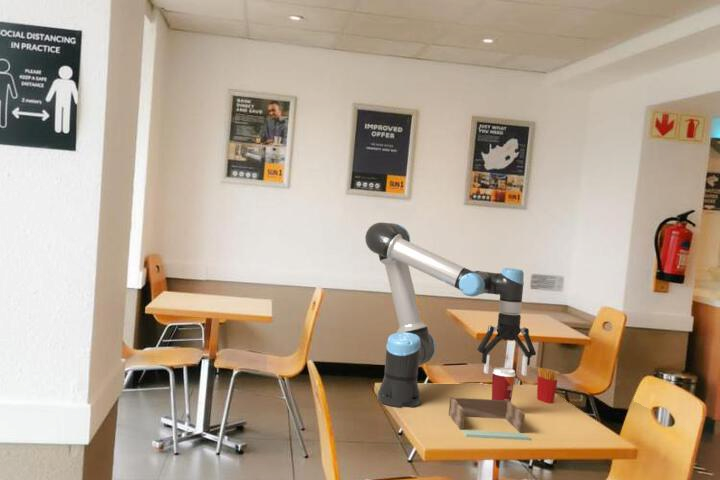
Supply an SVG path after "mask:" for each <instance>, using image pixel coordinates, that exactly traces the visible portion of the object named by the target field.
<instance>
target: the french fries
mask: <svg viewBox="0 0 720 480" xmlns="http://www.w3.org/2000/svg"><path fill="white" fill-rule="evenodd" d="M537 373H538V375H537V380H536V381H537V386H536V387H537V389H536V391H537V392H536V399H537V400H538V401H540V402H543V403H547V404H554V401H555V395H556V390H557V385H558V379H557V375H558V374H557V373H556V371H554V370H550V369H549V368H546V369H545V368H544V367H540V368H539V367H537Z"/></svg>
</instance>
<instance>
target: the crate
mask: <svg viewBox="0 0 720 480" xmlns="http://www.w3.org/2000/svg"><path fill="white" fill-rule="evenodd" d="M448 410H449V411H448V416H449V417H450V418H451V420H452V421H453V422H454V425H456V426H457V427H458V429H459V430H460V431H461V430H464V427H465V426H464V425H465V424H464V423H465V418H466V417H467V418H483V419H497V420H498V419H500V420H501V419H502V420H506V421H507V422H508V423H509V424H510V425H511V426H512V427H513V428H514V429H515V430H516V431H517V433H523V434H524V427H525V413H524V412H523V411H522V410H520V409H519V408H518V407H517V406H516V405H515V404H513V402H512V401H511V402H510V401H505V400H492V399H486V398H485V399H484V398H471V397H470V398H469V397H453V396H450V399H449V409H448Z"/></svg>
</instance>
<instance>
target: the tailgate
mask: <svg viewBox="0 0 720 480" xmlns="http://www.w3.org/2000/svg"><path fill="white" fill-rule="evenodd" d="M460 431H461V432H462V434H463V435H464V436H465V438H480V439H495V440H496V439H497V440H499V439H501V440H520V441H531V437H530V436H528V435H526V434H525V433H524V432H523V433H519V432H508V431H507V432H506V431H504V432H503V431H491V430H490V431H488V430H487V431H486V430H468V429H467V430H466V429H463V430H460Z"/></svg>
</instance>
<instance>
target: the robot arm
mask: <svg viewBox="0 0 720 480" xmlns="http://www.w3.org/2000/svg"><path fill="white" fill-rule="evenodd" d="M409 233H410V232H408V230H407V229H406V228H405V227H404V226H403V225H401V224H399V223H395V222H390V223H389V222H376V223H374V224H372V225H371V226H370V227H369V228H368V229H367V230H366V233H365V237H364V238H365V244H366V246H367V247H368V249H369V251H371V252H372V253H375V254H377V255H378V258H379V262H380V263H382V264H383V265H384V266H385V270H386V275H387V279H388V284H389V288H390V291H391V296H392V300H393V301H392V302H393V305H394V309H395V310H394V311H395V314H396V318H397V323H398V326H399V327H398V329H397V331H396V332H395V333H392V334H390V335H389V336H388V338H387V342H386V351H385V364H384V373H383V374H384V376H383V379H382V382H381V384H380V386H379V389H378V390H377V391H378V392H377V396H376V397H377V398H376V399H377V401H378V402H379V403H381V404H384V405H387V406H390V407H396V408H414V407H415V408H416V407H418V406H419V405H420V404H421V392H420V389H419V385H418V384H419V383H418V374H419V367H420V366H421V365H425V364H426V363H428V362H429V361H430V360H432V358H433V356H434V355H435V353H436V350H437V349H436V348H437V347H436V341H435V339H434V337H433V336H432V335H431V334H430V333H429V329H428V325H427V324H426V323H423V320H422V316H421V313H420V309H419V304H418V301H417V296H416V291H415V288H414V284H413V283H414V282H413V279H412V275H411V270H410V267H412V268H414V269H416V270H418V271H420V272H422V273H424V274H426V275H429V276H430V277H432V278H435V279H437V280H439V281H440V282H443V283H445V284H447V285H449V286H451V287H454V288H455V289H457V290H458V291H460V292H461V293H462V294H463V295H465V296H466V297H467V296H468V297H477V296H480V295H483V294H489V295H490V294H491V295H495V296H497V295H498V296H499V307H498V311H499V313H498V318H497V326H493V325H488V327H487V332H486V333H485V335H484V337H483V339H482V340H481V342H480V343H479V345H478V347H477V349H476V350H477V351H478V352H479V353H481V354H482V356H481V362H482V363H481V364H483V373H484V374H486V375H489V369H490V366H489V365H490V358H491V357H490V356H491V355H490V354H489V353H490V352H491V350H493V349H494V348H495V347H496V346H497V344H499V343H500V342H501V341H502V340H503V341H515V343H516V344H517V346H519V348H520V349H521V351H522V352H523V353H524V355H522V361H521V375H522V376H525V377H527V370H528V368H527V367H529V366H530V363H531V358H532V356H536V355H537V352H536V349H535V347H534V344H533V342H532V340H531V338H530V334H529V333H530V332H529V331H530V330H529V328H527V327H525V326H524V327H523V328H522V327H521V317H522V316H521V313H522V304H523V292H524V284H525V282H524V276H525V275H524V274H525V273H524V271H523V269H522V270H521V269H518V268H508V267H507V268H504V267H503V268H502V269H501V271H500V272H501V273H500V272H489V271H481V270H470V269H469V268H466V267H464V266H462V265H460V264H458V263H456V262H453V261H451V260H449V259H447V258H445V257H443V256H441V255H439V254H436V253H434V252H432V251H430V250H428V249H425V248H423V247H421V246H418V245H417V244H414V243H412V242H411V236H410V234H409ZM495 332H497V334H496V335H495V336H494V338H493V339H491V338H492V336H493V334H494V333H495ZM520 333H521V334H522V335H523V338H524V341H525V344H526V345H527V347H526V346H525V344H524V343H523V341H522V340H521V338H520V337H519V335H520ZM490 340H491V341H490ZM489 341H490V342H489Z"/></svg>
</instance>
